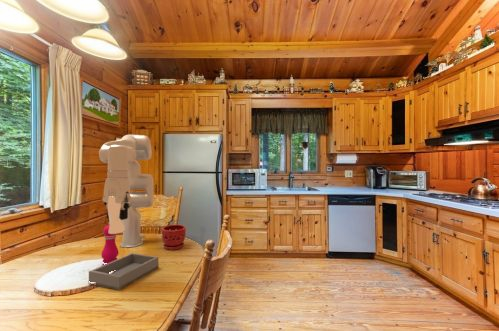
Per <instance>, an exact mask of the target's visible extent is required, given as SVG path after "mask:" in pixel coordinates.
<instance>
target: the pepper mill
mask: <svg viewBox="0 0 499 331" xmlns="http://www.w3.org/2000/svg"><path fill="white" fill-rule="evenodd" d="M109 226H110V222H109V221H108V225H105V227H104V228H103V231H102V232H103V234H104V240H105V242H104V247H103V249H102V251H101V258H102V261H103V262H104V263H110V262H112V261H114V260H117V259H118V258H117V257H118V256H119V249H118V247H117V244H116V239H117V234H110V233H108V231H109Z"/></svg>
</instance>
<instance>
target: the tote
mask: <svg viewBox="0 0 499 331" xmlns="http://www.w3.org/2000/svg"><path fill="white" fill-rule="evenodd" d="M159 258H160V257H159V256H155V255H147V254H141V253H134V252H132V253H129V254H127V255H124V256H122V257H120V258H117V260H114V261H112V262H110V263H107V264H105V265H103V264H102V265H101V266H98V267H96V268H93V269H91V270H89V271H88V282H89V281H90V282H96V287H102V288H104V289H109V290H110V289H111V290H114V291H121V290H123V289H125V287H127V286H129V285H131V284H133V283H134V282H137V281H138V280H140V279H141V278H143V277H145V276H147V275H149V274H150V273H152V272H154V271H156V270H157V269H159ZM114 270H116V271H114ZM111 271H114V272H113V273H112V274H109V272H111Z"/></svg>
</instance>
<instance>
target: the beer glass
mask: <svg viewBox="0 0 499 331" xmlns="http://www.w3.org/2000/svg"><path fill="white" fill-rule="evenodd" d="M124 202H125V200H124ZM124 206H125V203H124ZM107 207H108V216H109V218H108V219H109V221H108V223H109V222H110V226H109V231H108V233H110V234H116V235H117V234H123V232H125V227H124V220H121V219H120V211H121V210H122V208H121V203H116V202H115V197H112V196H108V206H107Z"/></svg>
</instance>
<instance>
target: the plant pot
mask: <svg viewBox="0 0 499 331" xmlns="http://www.w3.org/2000/svg"><path fill="white" fill-rule="evenodd" d="M161 229H162V230H161V236H162V241H163V245H162V246H163V247H164V249H166V250H169V251H172V250H173V251H174V250H179V249H182V248H183V247H184V246H185V242H184V241H185V239H186V232H187V231H186V229H187V228H186V226H185V225H182V224H169V225H165V226H163V227H162V228H161Z"/></svg>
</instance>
